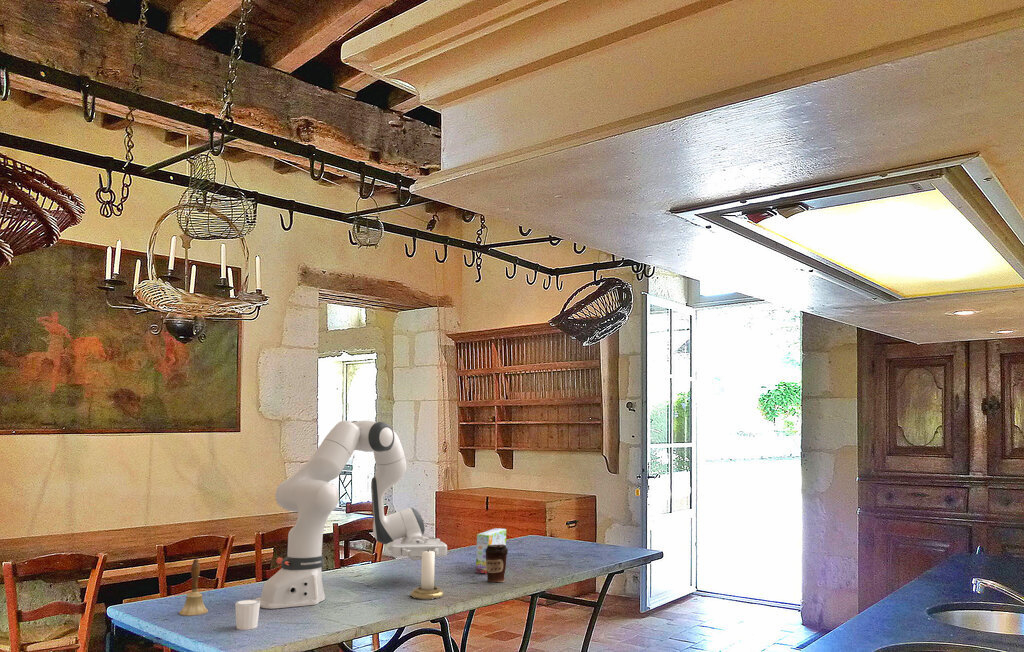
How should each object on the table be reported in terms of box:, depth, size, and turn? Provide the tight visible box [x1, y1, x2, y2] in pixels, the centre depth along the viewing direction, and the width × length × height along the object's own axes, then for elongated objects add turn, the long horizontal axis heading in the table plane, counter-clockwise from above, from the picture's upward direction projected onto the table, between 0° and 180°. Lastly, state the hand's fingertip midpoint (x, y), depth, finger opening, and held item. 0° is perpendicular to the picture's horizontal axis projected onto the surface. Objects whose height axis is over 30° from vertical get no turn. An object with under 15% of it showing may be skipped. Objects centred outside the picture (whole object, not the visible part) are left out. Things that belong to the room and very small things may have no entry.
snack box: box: [475, 527, 507, 575], centre depth 322 cm, size 21×6×15 cm, turn 161°
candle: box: [420, 550, 436, 591], centre depth 271 cm, size 4×4×14 cm
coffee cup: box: [485, 544, 509, 583], centre depth 297 cm, size 9×8×13 cm
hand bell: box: [178, 558, 209, 617], centre depth 246 cm, size 8×8×16 cm
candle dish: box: [410, 585, 445, 600], centre depth 270 cm, size 11×11×2 cm
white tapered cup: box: [234, 599, 261, 631], centre depth 229 cm, size 7×7×7 cm
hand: (421, 552), depth 283 cm, fingers open, 8 cm apart
